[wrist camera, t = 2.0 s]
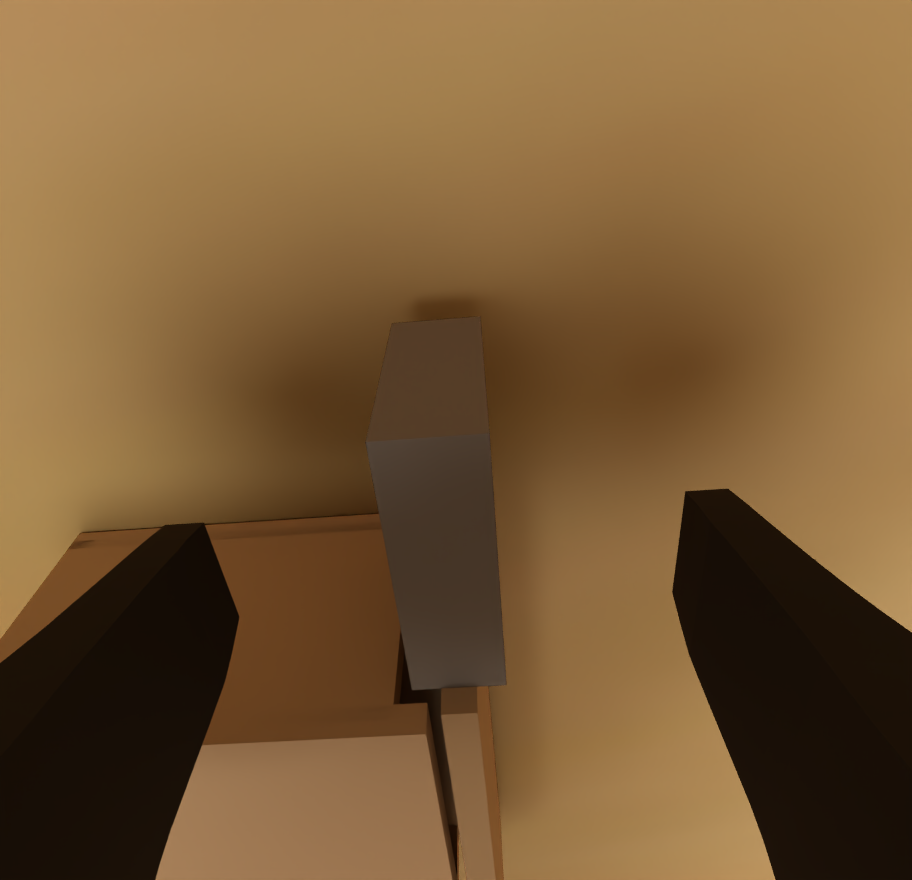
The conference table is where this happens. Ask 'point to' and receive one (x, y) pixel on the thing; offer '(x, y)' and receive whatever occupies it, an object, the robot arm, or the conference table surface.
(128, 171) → the conference table surface
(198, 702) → the robot arm
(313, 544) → the carton
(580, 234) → the conference table surface
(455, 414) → the grey-topped wooden pole
